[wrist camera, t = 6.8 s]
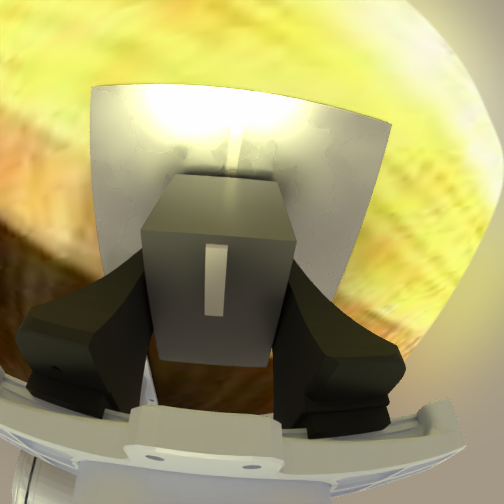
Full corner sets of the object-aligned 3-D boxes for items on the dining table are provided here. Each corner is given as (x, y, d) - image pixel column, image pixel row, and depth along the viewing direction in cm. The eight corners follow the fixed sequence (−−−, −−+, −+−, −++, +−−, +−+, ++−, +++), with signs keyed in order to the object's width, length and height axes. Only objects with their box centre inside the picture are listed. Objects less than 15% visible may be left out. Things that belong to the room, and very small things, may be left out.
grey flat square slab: (316, 329, 19) (325, 369, 17) (114, 308, 18) (98, 346, 15) (388, 122, 12) (425, 138, 9) (95, 86, 10) (55, 93, 8)
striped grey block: (259, 289, 16) (267, 371, 11) (177, 283, 15) (159, 363, 11) (276, 181, 12) (298, 245, 8) (175, 174, 12) (138, 232, 8)
